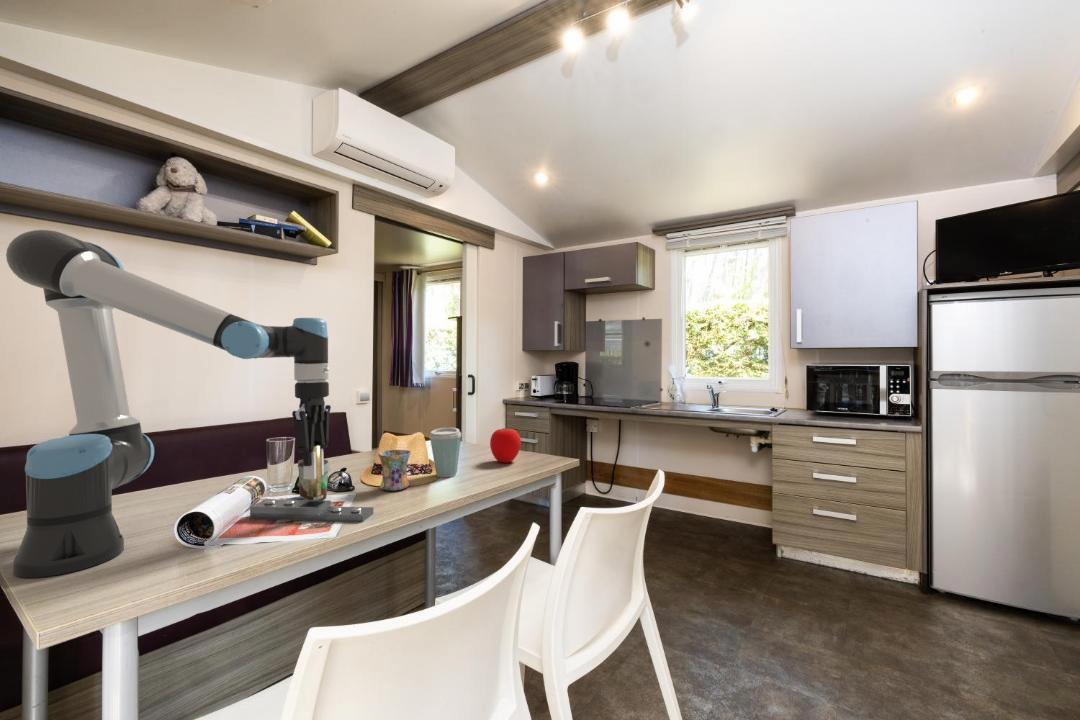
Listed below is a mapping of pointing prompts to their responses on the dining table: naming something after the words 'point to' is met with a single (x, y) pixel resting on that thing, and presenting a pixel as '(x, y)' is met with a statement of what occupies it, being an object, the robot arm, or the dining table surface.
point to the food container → (304, 482)
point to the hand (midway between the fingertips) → (313, 476)
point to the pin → (315, 484)
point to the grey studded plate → (307, 511)
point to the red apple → (505, 444)
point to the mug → (394, 469)
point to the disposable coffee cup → (445, 450)
